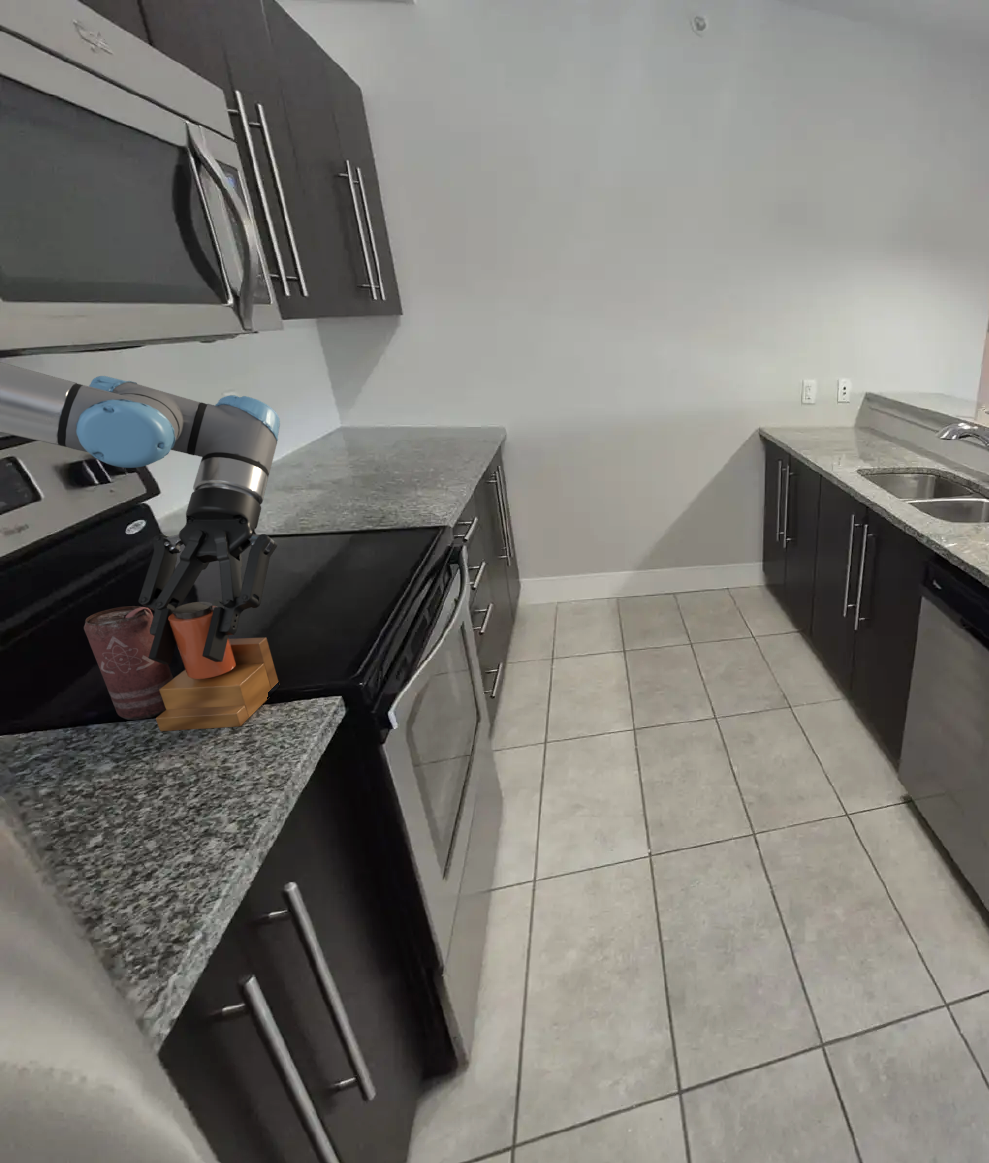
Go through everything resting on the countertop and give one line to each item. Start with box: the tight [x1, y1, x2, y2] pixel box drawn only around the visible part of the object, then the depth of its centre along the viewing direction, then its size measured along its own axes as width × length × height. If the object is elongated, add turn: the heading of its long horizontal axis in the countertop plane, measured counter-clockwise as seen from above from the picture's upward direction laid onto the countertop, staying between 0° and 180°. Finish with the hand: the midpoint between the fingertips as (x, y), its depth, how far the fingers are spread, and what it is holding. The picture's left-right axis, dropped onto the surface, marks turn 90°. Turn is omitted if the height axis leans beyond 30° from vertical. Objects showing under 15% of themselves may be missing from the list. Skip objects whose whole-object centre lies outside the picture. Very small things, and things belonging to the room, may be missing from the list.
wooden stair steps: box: [155, 637, 279, 732], centre depth 85 cm, size 9×10×8 cm
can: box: [83, 605, 174, 721], centre depth 83 cm, size 6×6×14 cm
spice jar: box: [168, 601, 236, 679], centre depth 83 cm, size 5×5×9 cm
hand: (186, 659), depth 80 cm, fingers closed on spice jar, 5 cm apart
